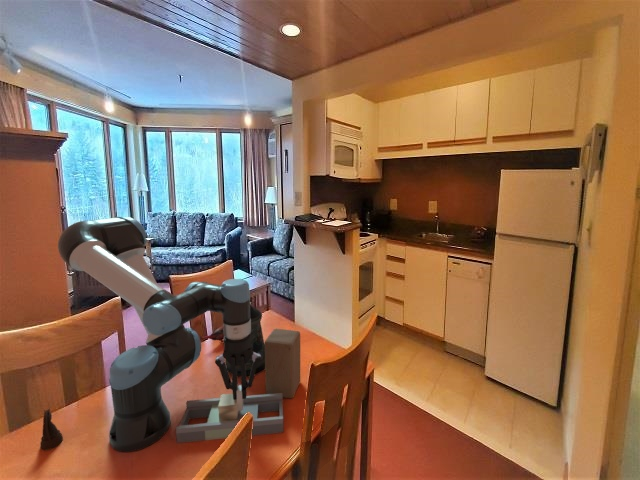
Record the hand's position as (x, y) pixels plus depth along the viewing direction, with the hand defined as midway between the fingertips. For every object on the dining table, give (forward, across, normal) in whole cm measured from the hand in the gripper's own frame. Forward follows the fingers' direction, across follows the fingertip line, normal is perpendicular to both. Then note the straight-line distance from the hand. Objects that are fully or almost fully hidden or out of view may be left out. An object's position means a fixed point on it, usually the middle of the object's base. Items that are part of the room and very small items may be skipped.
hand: (240, 407), depth 91 cm
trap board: (+5, -2, 0) cm, 5 cm away
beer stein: (+5, -2, +30) cm, 31 cm away
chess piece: (+5, -50, -2) cm, 50 cm away
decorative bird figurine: (+5, -14, +47) cm, 50 cm away
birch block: (+2, -3, 0) cm, 4 cm away
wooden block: (+5, +13, +14) cm, 20 cm away
